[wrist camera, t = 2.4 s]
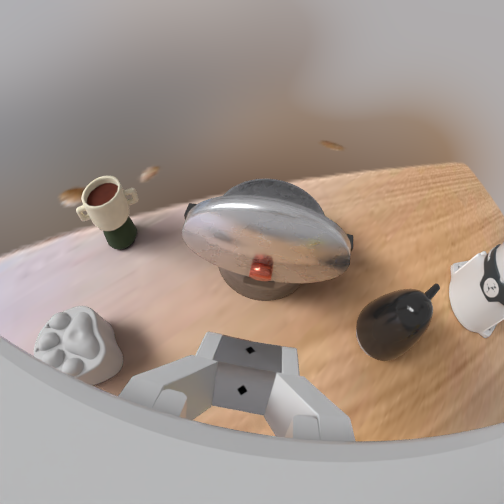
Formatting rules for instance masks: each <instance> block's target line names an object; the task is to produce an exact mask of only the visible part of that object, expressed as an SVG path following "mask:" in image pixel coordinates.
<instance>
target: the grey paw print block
mask: <svg viewBox="0 0 504 504" xmlns="http://www.w3.org/2000/svg"><path fill="white" fill-rule="evenodd" d="M34 357H36V358H38V359H40V360H41V361H43V362H45V363H47V364H49V365H51V366H52V367H54V368H56V369H58V370H60V371H62V372H64V373H66V374H68V375H70V376H72V377H74V378H76V379H79V380H81V381H83V382H85V383H87V384H89V385H92V386H93V385H96V384H99V383H101V382H104V381H106V380H107V379H109V378H111V377H113V376H115V375H116V374H117V373H118V372H119V371H120V369H121V368H122V365H123V355H122V352H121V350H120V349H119V347H118V345H117V343H116V339H115V334H114V330H113V328H112V326H111V325H110V324H109V323H108V322H106V321H105V320H104V319H103V318H102V317H101V316H99V315H98V314H97V313H96V312H95V311H94V310H92V309H91V308H89V307H86V306H76V307H73V308H71V309H68V310H65V311H63V312H60V313H56V314H54V315H53V316H52V318H51V319H50V320H49V321H48V322H47V323H46V324H45V326H44V327H43V328H42V330H41V331H40V333H39V335H38V337H37V340H36V343H35V347H34Z"/></svg>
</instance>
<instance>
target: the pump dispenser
mask: <svg viewBox="0 0 504 504" xmlns="http://www.w3.org/2000/svg"><path fill="white" fill-rule="evenodd" d="M439 289H440V286H439V285H438V284H434V285H433V286H432V287H431V288H430V289H429V290H428V291H426V292H425V293H423V292H422V291H419V290H416V289H403V290H398V291H394V292H391V293H388V294H386V295H383V296H381V297H379V298H377V299H375V300H373V301H372V302H370V303H369V304H368V305H367V306H365V307H364V309H363V310H362V311H361V313H360V315H359V317H358V320H357V327H356V336H357V341H358V343H359V345H360V347H361V349H362V350H363V351H364V352H365V353H366V354H367V355H369V356H370V357H373V358H375V359H377V360H381V361H390V360H394V359H396V358H398V357H400V356H402V355H403V354H405V353H406V352H407V351H409V350H410V349H411V348H412V347H413V346H414V345H415V344H416V343H417V342H418V341H419V340H420V338H421V337H422V336H423V334H424V333H425V332H426V330H427V328H428V326H429V324H430V322H431V319H432V315H433V306H432V302H431V299H432V298H433V297H434V295H435V294H436V293H437V292H438V291H439Z"/></svg>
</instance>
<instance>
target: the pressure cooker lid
mask: <svg viewBox="0 0 504 504" xmlns="http://www.w3.org/2000/svg"><path fill="white" fill-rule="evenodd" d="M182 237H183V240H184V241H185V243H186V245H187V246H188V247H189V248H190V249H191V250H192V251H193V252H194V253H196V254H197V255H198V256H200V257H201V258H203V259H205V260H206V261H208V262H210V263H212V264H214V265H216V266H218V267H221V268H223V269H226V270H229V271H231V272H234V273H237V274H241V275H244V276H248V277H251V278H253V279H255V280H259V281H274V282H283V283H313V282H321V281H326V280H330V279H333V278H335V277H337V276H339V275H341V274H343V273H344V272H345V271H346V270H347V269H348V267H349V264H350V252H351V244H350V240H349V238H348V236H347V234H346V233H345V232H344V231H343V230H342V228H340V227H339V226H338V225H337V224H336V223H335V222H333V221H332V220H330V219H329V218H327V217H326V216H324V215H322V214H320V213H318V212H316V211H314V210H312V209H309V208H307V207H305V206H302V205H299V204H296V203H293V202H289V201H285V200H281V199H277V198H271V197H264V196H254V195H229V196H221V197H216V198H211V199H208V200H205V201H203V202H201V203H199V204H197V205H195V206H194V207H193V208H192V209H191V210H190V211H189V213H188V215H187V217H186V220H185V223H184V226H183V229H182Z"/></svg>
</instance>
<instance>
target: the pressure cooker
mask: <svg viewBox="0 0 504 504" xmlns="http://www.w3.org/2000/svg"><path fill="white" fill-rule="evenodd" d="M229 195H254V196H264V197H271V198H277V199H281V200H285V201H289V202H293V203H296V204H299V205H302V206H305V207H307V208H309V209H312V210H314V211H316V212H318V213H320V214H322V215H324V213H323V211H322V209H321V207H320V206H319V204H318V203H317V202H316V200H315V199H314V198H313V197H312V196H311V195H309V194H308V193H307V192H305V191H304V190H303V189H301V188H299V187H297V186H295V185H293V184H290V183H288V182H284V181H280V180H274V179H256V180H251V181H247V182H244V183H241V184H239V185H237V186H234V187H233V188H231V189H230V190H229V191H227V192H226V193H225V194H224V195H223V196H229ZM195 205H197V204H192V203H189V205H188V207H187V210H186V212H185V215H184V216H185V220H186V217H187V215H188V213H189V211H190V210H191V209H192V208H193V207H194V206H195ZM324 216H325V215H324ZM347 236H348V238H349V240H350V244H351V251H352V249H353V235H349V234H347ZM219 270H220V273H221V275H222V277H223V278H224V280H225V281H226V283H227V284H228V285H229V286H230V287H231V288H232V289H233V290H235V291H236V292H237V293H239V294H241V295H243V296H245V297H248V298H251V299H255V300H261V301H269V300H276V299H280V298H283V297H285V296H287V295H289V294H291V293H292V292H294V291H295V290H296V289H297V288H298V287H299V286H300V285H301V284H302V283H283V282H274V281H259V280H255V279H253V278H251V277H248V276H244V275H241V274H237V273H234V272H231V271H229V270H226V269H223V268H221V267H219Z"/></svg>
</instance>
